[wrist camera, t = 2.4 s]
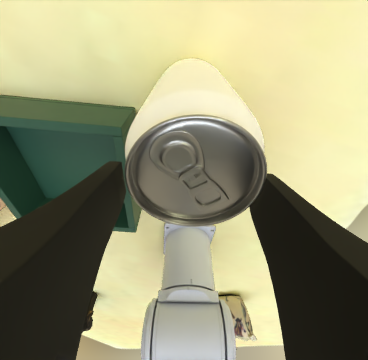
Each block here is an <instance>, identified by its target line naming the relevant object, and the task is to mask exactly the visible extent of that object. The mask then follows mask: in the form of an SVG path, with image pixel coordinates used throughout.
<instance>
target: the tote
mask: <svg viewBox="0 0 368 360" xmlns="http://www.w3.org/2000/svg"><path fill="white" fill-rule="evenodd" d="M135 117H136V116H135V108H132V107H121V106H111V105H100V104H90V103H79V102H69V101H58V100H48V99H37V98H26V97H16V96H5V95H0V198H1V199H2V201H3V202H4V203H5V204H6V206H7V207H8V208H9V209H10V211H11V212H12V213H13V215H14V216H15V217H16V218H17V219H18V218H20V217H22V216H24V215H26V214H28V213H30V212H32V211H34V210H36V209H37V208H39V207H41V206H43V205H45V204H46V203H48V202H50V201H51V200H53V199H55V198H56V197H58V196H59V195H61V194H63V193H64V192H66V191H67V190H69V189H70V188H72V187H73V186H75V185H76V184H78V183H79V182H81V181H82V180H83V179H85V178H86V177H88V176H89V175H90V174H92V173H93V172H95V171H96V170H97V169H99V168H100V167H101V166H103V165H104V164H106V163H107V162H109V161H117V162H122V167H123V173H124V171H125V163H126V159H125V143H126V138H127V135H128V132H129V129H130V126H131V124H132V122H133V120H134V119H135ZM124 180H125V174H124ZM125 186H126V195H125V199H124V203H123V206H122V209H121V212H120V214H119V217H118V219H117V222H116V224H115V227H114V229H113V231H121V232H136V230H137V226H138V222H139V218H140V214H141V210H142V208H141V207H140V206H139V205H138V204H137V203H136V202H135V201H134V199H133V198H132V196H131V195H130V193H129V191H128V188H127V185H126V182H125Z"/></svg>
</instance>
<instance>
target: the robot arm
mask: <svg viewBox="0 0 368 360" xmlns="http://www.w3.org/2000/svg"><path fill="white" fill-rule="evenodd" d="M125 195H126V186H125V180H124V173H123V167H122V162H117V161H109V162H107V163H106V164H104V165H103V166H101V167H100V168H99V169H97V170H96V171H95V172H93V173H92V174H90V175H89V176H88V177H86V178H85V179H83V180H82V181H81V182H79V183H78V184H76V185H75V186H73V187H72V188H70V189H69V190H67V191H66V192H64V193H63V194H61V195H59V196H58V197H56V198H55V199H53V200H51V201H50V202H48V203H46V204H45V205H43V206H41V207H39V208H37V209H36V210H34V211H32V212H30V213H28V214H26V215H24V216H22V217H20V218H18V219H16V220H14V221H12V222H10V223H8V224H6V225H4V226H2V227H0V360H76V356H77V351H78V347H79V342H80V338H81V334H82V330H83V325H84V321H85V317H86V314H87V310H88V306H89V302H90V298H91V294H92V291H93V287H94V284H95V280H96V277H97V273H98V270H99V267H100V263H101V260H102V257H103V254H104V251H105V248H106V246H107V243H108V241H109V239H110V236H111V234H112V231H113V229H114V227H115V224H116V222H117V219H118V217H119V214H120V212H121V209H122V206H123V203H124V199H125ZM250 212H251V216H252V220H253V223H254V226H255V229H256V231H257V234H258V237H259V240H260V243H261V246H262V248H263V251H264V254H265V257H266V260H267V264H268V267H269V272H270V276H271V280H272V284H273V289H274V293H275V298H276V303H277V308H278V313H279V319H280V325H281V330H282V337H283V344H284V351H285V357H286V360H368V243H367V242H365V241H363V240H362V239H360V238H359V237H357V236H356V235H354V234H352V233H351V232H349V231H348V230H346V229H345V228H343V227H342V226H340V225H339V224H337V223H336V222H334V221H333V220H331V219H330V218H329V217H327V216H326V215H325V214H323V213H322V212H320V211H319V210H318V209H316V208H315V207H314V206H313V205H311V204H310V203H309V202H307V201H306V200H305V199H304V198H302V197H301V196H300V195H299V194H297V193H296V192H295V191H294V190H292V189H291V188H290V187H289V186H287V185H286V184H285V183H284V182H282V181H281V180H280V179H279V178H277V177H276V176H274V175H273V174H267V176H266V181H265V184H264V187H263V189H262V191H261V193H260V194H259V196H258V197H257V199H256V200H255V201H254V202H253V203H252V204H251V205H250ZM215 229H216V227H215V226H214V225H208V226H199V227H188V226H179V225H174V224H170V223H167V222H166V223H165V226H164V255H165V258H164V268H163V277H162V287H161V290H159V292H158V299H156V298H154V299H153V300H152V301H151V302H150V303H149V305H148V307H147V310H146V313H145V318H144V324H143V331H142V341H141V359H142V360H236V342H235V333H234V326H233V320H232V315H231V312H230V309H229V306H228V305H227V304H226V303H225V301H224V300H223V299H220V300H219V297H218V291H215V285H214V276H213V266H212V257H211V248H210V244H211V241H212V238H213V235H214V232H215Z"/></svg>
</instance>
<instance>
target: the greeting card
mask: <svg viewBox="0 0 368 360" xmlns="http://www.w3.org/2000/svg"><path fill="white" fill-rule="evenodd" d="M5 206H6V204H5V203H4V202H3V201H2V199H1V198H0V210H2V209H3V208H4V207H5Z"/></svg>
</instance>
